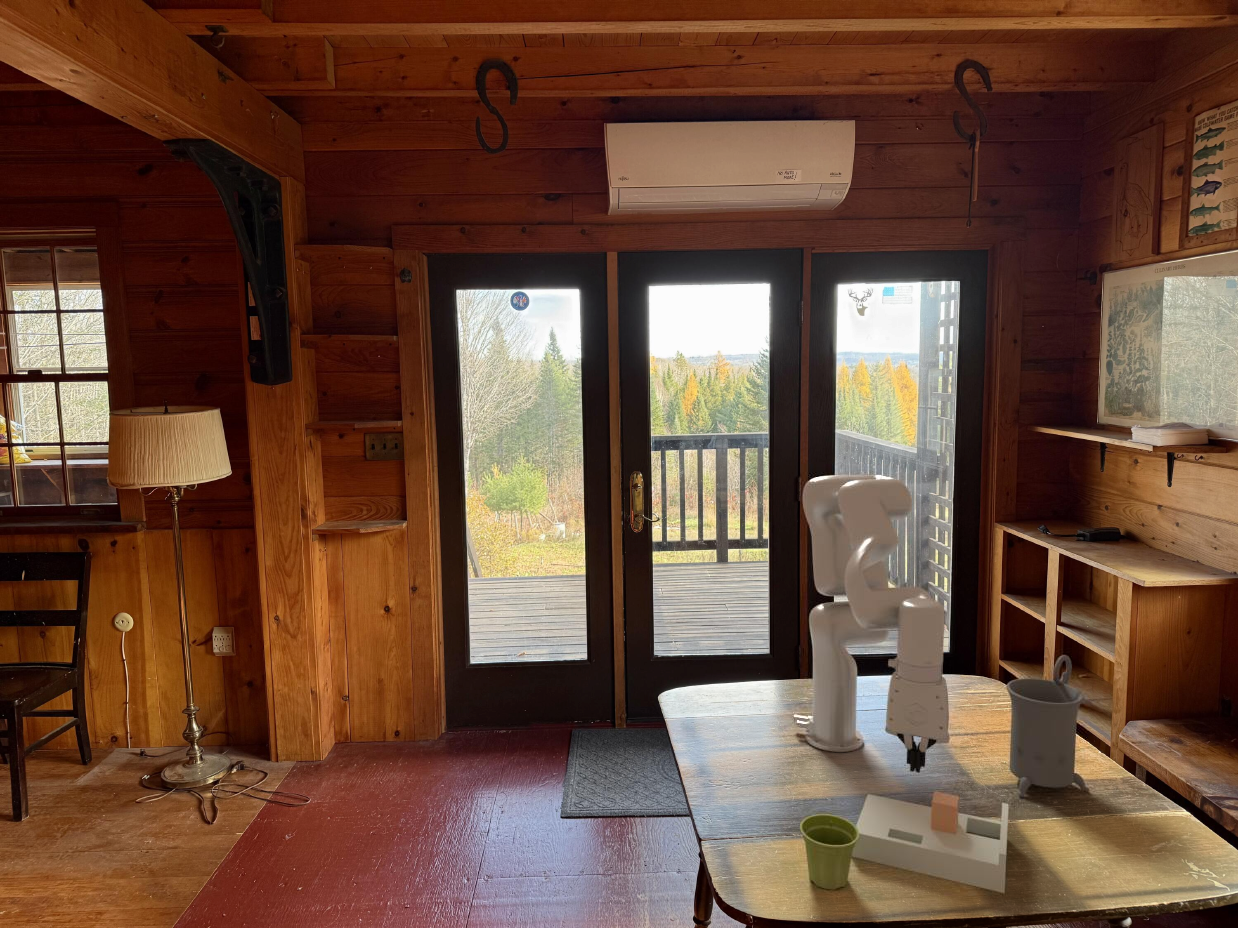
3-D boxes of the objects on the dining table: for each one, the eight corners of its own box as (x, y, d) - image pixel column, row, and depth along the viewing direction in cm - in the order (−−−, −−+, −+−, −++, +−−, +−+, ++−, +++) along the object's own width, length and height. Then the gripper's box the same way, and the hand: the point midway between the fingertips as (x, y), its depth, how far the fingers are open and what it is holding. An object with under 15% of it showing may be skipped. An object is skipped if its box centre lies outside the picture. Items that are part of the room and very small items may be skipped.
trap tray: (850, 856, 142) (851, 820, 142) (867, 808, 158) (868, 776, 157) (1004, 893, 132) (1006, 854, 131) (1007, 838, 147) (1008, 803, 146)
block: (930, 828, 145) (931, 801, 145) (933, 817, 149) (934, 791, 148) (955, 834, 143) (956, 806, 143) (957, 822, 147) (958, 796, 146)
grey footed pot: (1057, 813, 155) (1063, 684, 152) (983, 782, 167) (987, 662, 164) (1103, 782, 166) (1109, 662, 164) (1030, 755, 178) (1035, 643, 175)
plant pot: (859, 867, 139) (860, 818, 138) (856, 901, 130) (857, 849, 129) (802, 857, 142) (803, 809, 141) (796, 890, 133) (796, 839, 132)
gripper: (871, 670, 145) (868, 769, 148) (963, 684, 139) (959, 787, 141) (878, 656, 152) (875, 751, 154) (966, 668, 145) (962, 767, 148)
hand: (915, 768), depth 148 cm, fingers closed
